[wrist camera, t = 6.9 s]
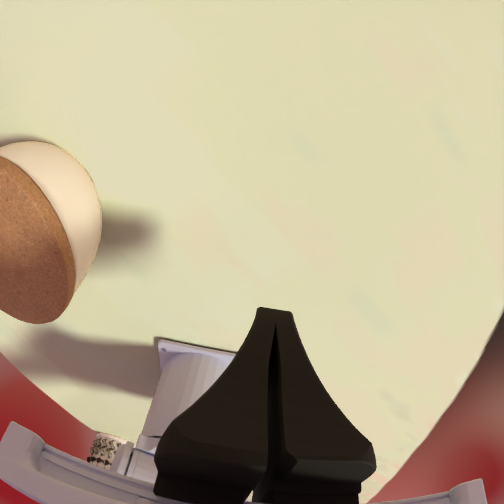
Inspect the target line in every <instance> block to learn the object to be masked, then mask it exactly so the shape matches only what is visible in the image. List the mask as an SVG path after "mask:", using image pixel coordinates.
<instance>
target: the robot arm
mask: <svg viewBox="0 0 504 504" xmlns="http://www.w3.org/2000/svg"><path fill="white" fill-rule="evenodd" d="M158 352H159V361H160V370H161V377H160V379H159V382H158V385H157V388H156V391H155V394H154V397H153V400H152V403H151V406H150V409H149V412H148V415H147V418H146V421H145V424H144V427H143V430H142V433H141V434H140V435H139V438H138V441H137V444H136V447H135V448H134V443H131V442H126V443H125V444H122V445H120V446H119V447H118V449H117V451H116V453H115V456H114V458H113V461H112V464H111V467H110V470H107V469H105V468H102V467H99V466H96V465H94V464H91V463H89V462H86V461H83V460H81V459H79V458H76V457H73V456H71V455H69V454H67V453H64V452H62V451H60V450H57V449H55V448H53V447H51V446H49V445H47V444H45V443H44V441H43V440H42V439H41V438H40V437H39V436H38V435H37V434H35V433H34V432H32V431H30V430H28V429H26V428H24V427H22V426H21V425H19V424H17V423H15V422H10V424H9V426H8V428H7V430H6V432H5V434H4V436H3V438H2V440H1V442H0V479H2V480H3V481H4V482H6V483H7V484H9V485H10V486H12V487H13V488H15V489H16V490H18V491H20V492H21V493H23V494H25V495H26V496H28V497H30V498H32V499H33V500H35V501H37V502H39V503H41V504H359V498H358V493H360V492H361V482H363V481H364V480H366V479H367V478H368V477H370V476H371V475H372V474H373V473H374V472H375V471H376V458H375V454H374V450H373V446H372V443H371V442H370V441H369V440H368V439H367V438H366V437H364V436H363V435H362V434H361V433H360V432H359V431H358V430H357V429H356V428H355V427H354V426H353V424H352V423H351V422H350V421H349V420H348V419H347V418H346V416H345V415H344V414H343V413H342V411H341V410H340V409H339V408H338V406H337V405H336V404H335V402H334V401H333V400H332V398H331V397H330V395H329V394H328V392H327V391H326V389H325V388H324V386H323V384H322V383H321V381H320V379H319V378H318V376H317V374H316V372H315V370H314V368H313V366H312V364H311V362H310V360H309V358H308V356H307V354H306V351H305V349H304V347H303V344H302V342H301V339H300V337H299V334H298V331H297V328H296V325H295V322H294V318H293V314H292V313H291V312H289V311H283V310H276V309H270V308H264V307H259V308H257V311H256V316H255V319H254V322H253V325H252V327H251V329H250V331H249V333H248V335H247V337H246V339H245V341H244V343H243V344H242V346H241V347H240V349H239V351H238V352H237V354H235V353H230V352H224V351H218V350H213V349H208V348H202V347H197V346H192V345H187V344H183V343H178V342H173V341H169V340H164V339H161V340H159V342H158ZM252 490H253V496H252V502H248V496H249V494H250V493H251V491H252ZM367 504H487V501H486V496H485V491H484V486H483V481H482V479H476V480H473V481H469V482H465V483H462V484H460V485H457V486H455V487H454V488H452V489H451V490H450V491H447V492H442V493H437V494H432V495H427V496H422V497H416V498H409V499H403V500H395V501H387V502H378V503H367Z"/></svg>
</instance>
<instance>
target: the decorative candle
mask: <svg viewBox="0 0 504 504" xmlns="http://www.w3.org/2000/svg"><path fill="white" fill-rule="evenodd" d="M96 439H97V440H94V441H93V446H94V447H92V448H91V449H90V453H91V455H92V457H87V462H89V463H91V464H94V465H96V466H99V467H102V468H105V469H107V470H110V467H111V464H112V461H113V458H114V456H115V453H116V451H117V449H118V447H119V446H120V445H122V444H125V443H126V442H128V441H127V440H124V439H122V438H120V437H117V436H114V435H111V434H107V433H98V434H97V436H96ZM135 447H136V446H135V445H134V448H135Z"/></svg>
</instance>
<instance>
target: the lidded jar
mask: <svg viewBox="0 0 504 504" xmlns="http://www.w3.org/2000/svg"><path fill="white" fill-rule="evenodd" d="M101 232H102V211H101V204H100V200H99V196H98V193H97V190H96V187H95V185H94V182H93V180H92V178H91V176H90V175H89V173H88V172H87V170H86V169H85V168H84V167H83V166H82V165H81V164H80V163H79V161H78V160H77V159H76V158H74V157H73V156H72V155H71V154H69V153H68V152H66V151H64V150H63V149H61V148H59V147H57V146H54V145H52V144H49V143H43V142H36V141H28V142H18V143H12V144H8V145H5V146H2V147H0V309H1V310H2V311H4V312H5V313H7V314H9V315H10V316H12V317H14V318H16V319H18V320H21V321H24V322H27V323H33V324H44V323H48V322H52V321H54V320H55V319H57V318H58V317H59V316H60V315H61V314H62V313H63V312H64V310H65V309H66V308H67V306H68V305H69V303H70V301H71V299H72V297H73V295H74V293H75V292H76V291H77V289H78V288H79V286H80V285H81V283H82V282H83V280H84V278H85V276H86V274H87V273H88V271H89V269H90V267H91V265H92V263H93V261H94V258H95V256H96V253H97V250H98V247H99V243H100V238H101Z"/></svg>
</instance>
